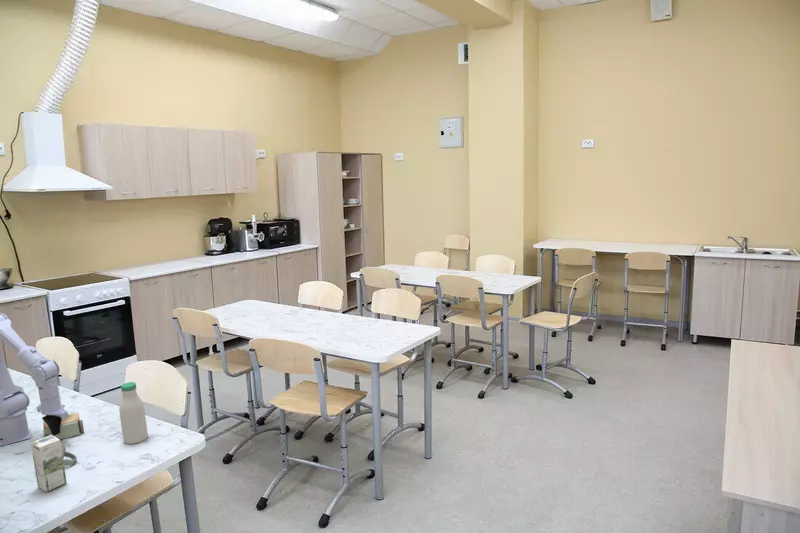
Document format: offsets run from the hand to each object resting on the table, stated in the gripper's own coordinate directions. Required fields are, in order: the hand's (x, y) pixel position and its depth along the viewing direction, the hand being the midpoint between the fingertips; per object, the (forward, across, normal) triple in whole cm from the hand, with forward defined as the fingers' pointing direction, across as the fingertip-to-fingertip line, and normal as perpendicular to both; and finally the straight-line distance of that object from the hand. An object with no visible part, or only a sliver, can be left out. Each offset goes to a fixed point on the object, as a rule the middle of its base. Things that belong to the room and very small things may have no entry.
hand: (56, 434), depth 199 cm
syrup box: (+3, -26, +17) cm, 31 cm away
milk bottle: (+3, -24, -13) cm, 27 cm away
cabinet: (+3, +5, -5) cm, 8 cm away
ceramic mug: (+3, -16, +10) cm, 19 cm away
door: (+3, 0, -2) cm, 3 cm away
